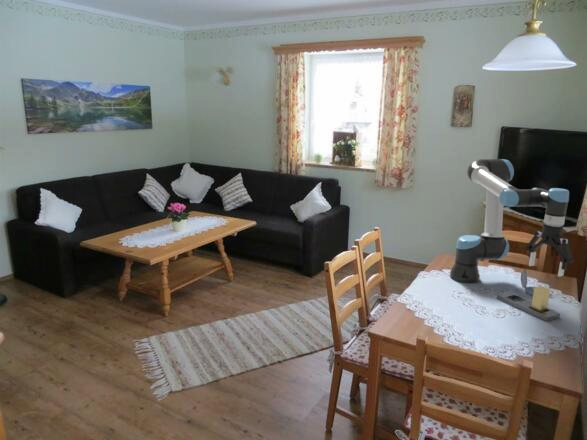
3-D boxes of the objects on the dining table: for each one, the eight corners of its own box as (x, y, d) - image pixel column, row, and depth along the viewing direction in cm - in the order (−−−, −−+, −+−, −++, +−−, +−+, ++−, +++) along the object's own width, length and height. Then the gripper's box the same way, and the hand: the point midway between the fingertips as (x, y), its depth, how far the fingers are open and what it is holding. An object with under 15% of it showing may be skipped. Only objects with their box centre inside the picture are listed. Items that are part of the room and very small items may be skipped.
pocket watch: (525, 266, 222) (558, 274, 212) (522, 286, 224) (554, 294, 215) (519, 271, 214) (553, 279, 205) (516, 291, 217) (550, 300, 207)
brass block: (530, 311, 195) (534, 287, 192) (536, 309, 197) (541, 285, 194) (539, 315, 191) (543, 291, 188) (546, 314, 193) (550, 289, 190)
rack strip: (496, 298, 209) (496, 294, 208) (508, 295, 213) (509, 291, 212) (546, 321, 186) (547, 317, 186) (559, 317, 190) (560, 313, 189)
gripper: (521, 218, 193) (514, 262, 198) (577, 232, 171) (568, 282, 177) (532, 217, 196) (525, 260, 202) (588, 230, 174) (579, 279, 180)
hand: (545, 270), depth 189 cm, fingers open, 13 cm apart
